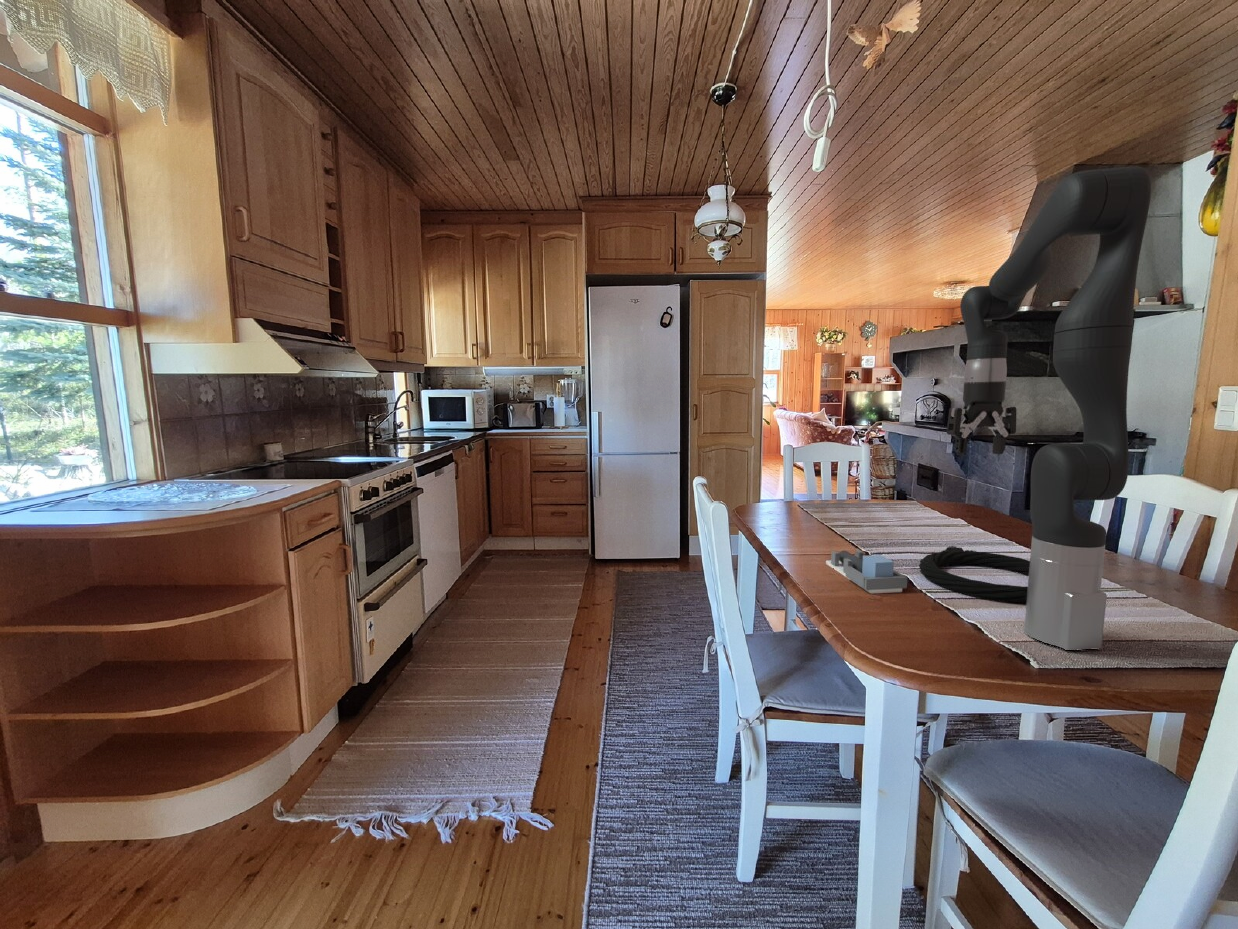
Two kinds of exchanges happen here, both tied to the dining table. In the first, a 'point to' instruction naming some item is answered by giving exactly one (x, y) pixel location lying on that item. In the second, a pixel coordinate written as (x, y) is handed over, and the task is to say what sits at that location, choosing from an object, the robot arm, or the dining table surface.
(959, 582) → the cable lock
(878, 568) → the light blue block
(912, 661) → the dining table surface
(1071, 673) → the dining table surface
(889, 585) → the rail
